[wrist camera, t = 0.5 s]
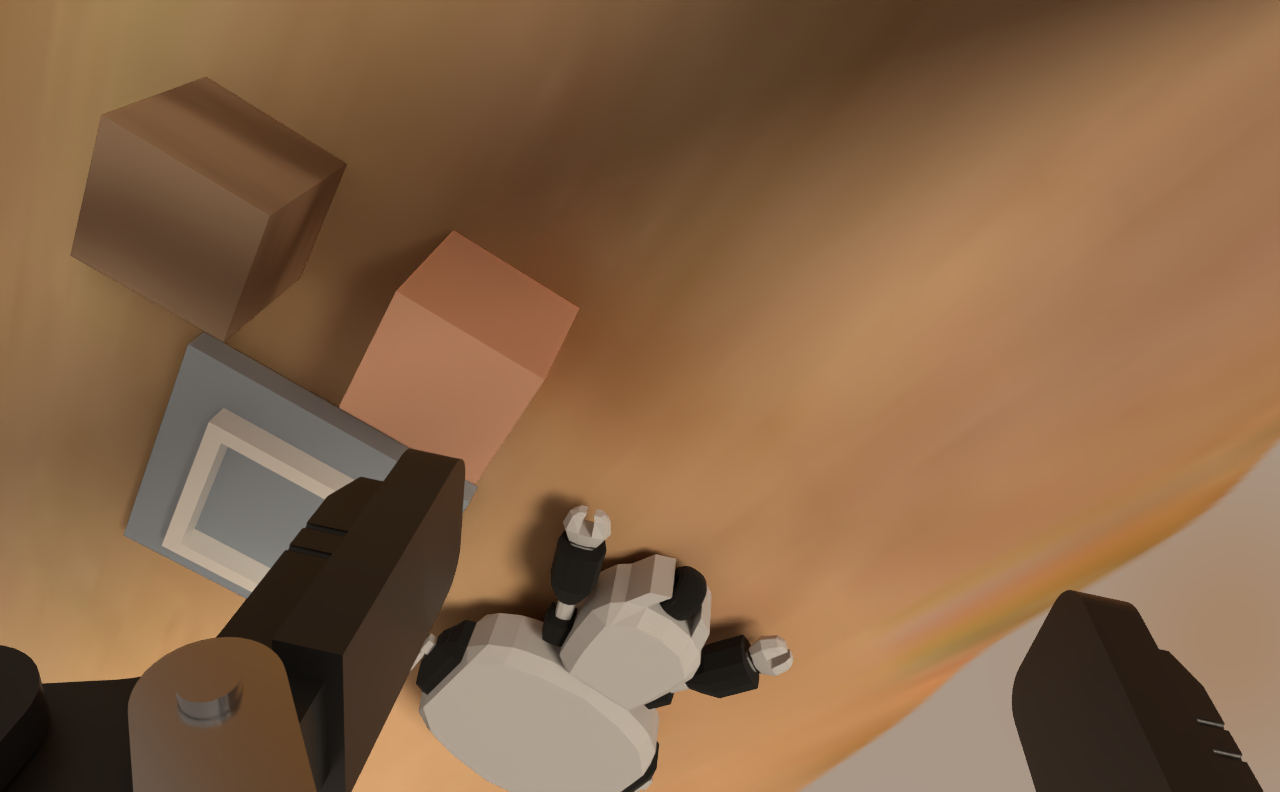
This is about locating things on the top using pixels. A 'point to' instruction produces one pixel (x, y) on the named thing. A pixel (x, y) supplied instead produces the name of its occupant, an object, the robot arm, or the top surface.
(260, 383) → the baseplate
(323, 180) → the walnut cube
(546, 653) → the robot toy
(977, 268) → the top surface
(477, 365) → the terracotta cube
